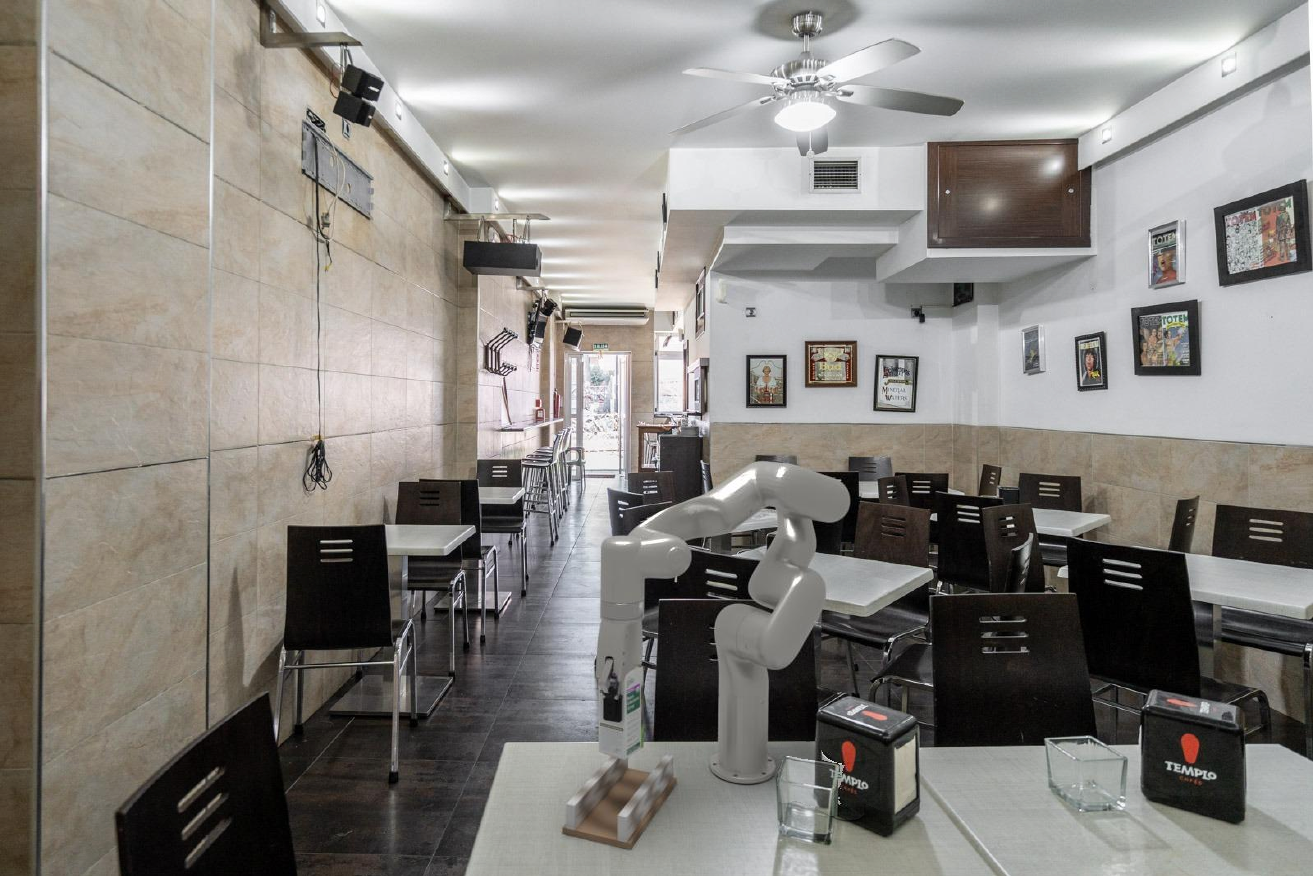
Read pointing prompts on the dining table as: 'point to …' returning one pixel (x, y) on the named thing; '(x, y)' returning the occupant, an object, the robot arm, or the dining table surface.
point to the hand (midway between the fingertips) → (621, 711)
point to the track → (618, 802)
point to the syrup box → (624, 718)
